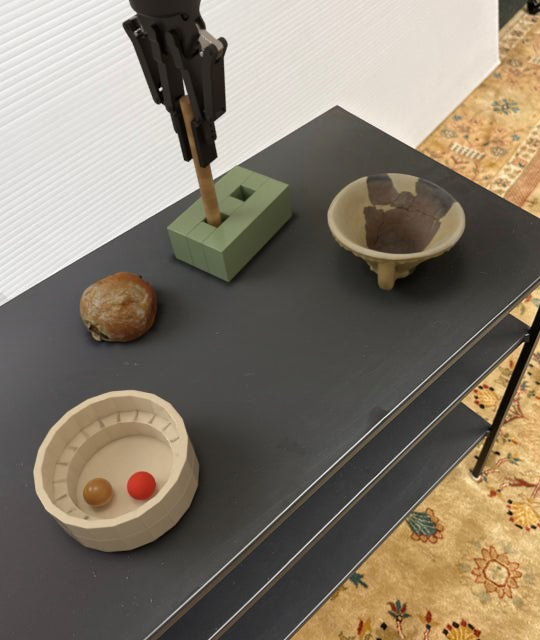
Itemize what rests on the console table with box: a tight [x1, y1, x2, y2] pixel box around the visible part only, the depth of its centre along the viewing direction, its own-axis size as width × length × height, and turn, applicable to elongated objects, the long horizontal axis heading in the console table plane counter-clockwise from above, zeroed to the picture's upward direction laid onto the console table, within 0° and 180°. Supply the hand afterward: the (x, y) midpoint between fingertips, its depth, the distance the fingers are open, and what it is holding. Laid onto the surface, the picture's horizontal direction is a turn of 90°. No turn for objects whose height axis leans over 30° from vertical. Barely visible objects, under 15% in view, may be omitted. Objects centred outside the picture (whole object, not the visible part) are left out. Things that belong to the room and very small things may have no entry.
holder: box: [166, 164, 293, 283], centre depth 94 cm, size 10×16×6 cm, turn 148°
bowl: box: [326, 172, 466, 291], centre depth 88 cm, size 18×18×10 cm
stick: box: [180, 94, 222, 228], centre depth 85 cm, size 2×2×22 cm
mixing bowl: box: [33, 389, 200, 553], centre depth 69 cm, size 16×16×7 cm
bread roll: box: [79, 271, 158, 343], centre depth 86 cm, size 10×10×8 cm
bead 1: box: [83, 478, 113, 507], centre depth 69 cm, size 3×3×3 cm
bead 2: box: [127, 471, 156, 500], centre depth 69 cm, size 3×3×3 cm
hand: (200, 158), depth 83 cm, fingers closed on stick, 2 cm apart
